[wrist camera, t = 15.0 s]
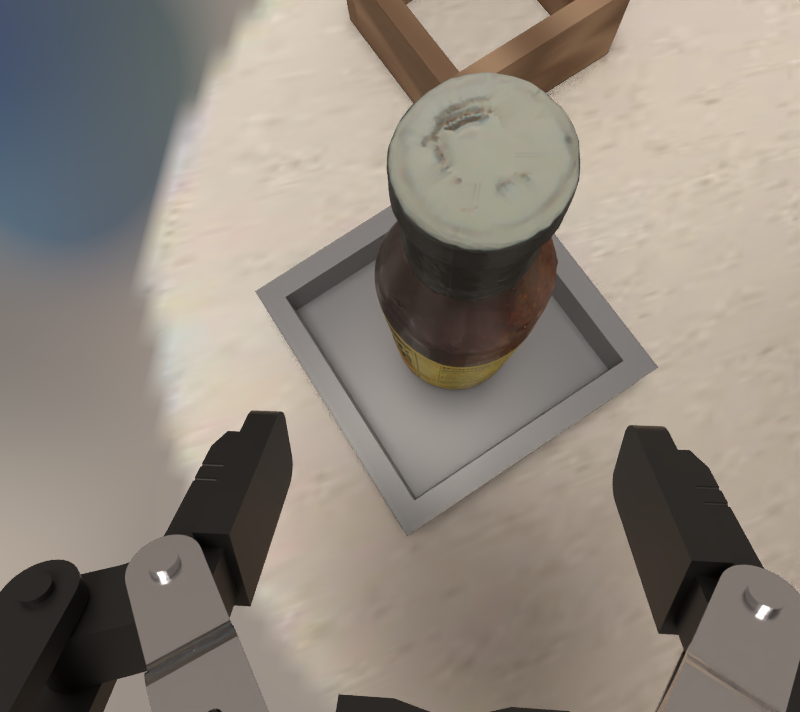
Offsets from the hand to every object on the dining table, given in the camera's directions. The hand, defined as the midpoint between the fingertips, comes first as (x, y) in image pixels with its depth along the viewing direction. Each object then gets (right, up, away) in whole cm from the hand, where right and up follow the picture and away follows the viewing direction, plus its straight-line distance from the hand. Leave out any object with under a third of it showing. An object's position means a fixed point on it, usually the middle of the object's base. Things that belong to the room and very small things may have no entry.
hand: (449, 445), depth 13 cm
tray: (+2, +3, +19) cm, 19 cm away
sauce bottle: (+2, +3, +18) cm, 18 cm away
